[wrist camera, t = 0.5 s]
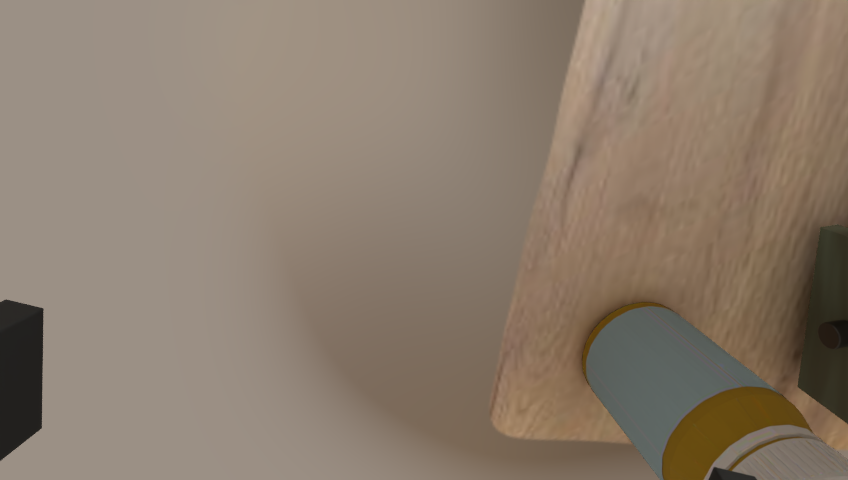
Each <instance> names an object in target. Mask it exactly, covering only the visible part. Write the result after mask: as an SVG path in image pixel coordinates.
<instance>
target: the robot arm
mask: <svg viewBox="0 0 848 480" xmlns="http://www.w3.org/2000/svg"><path fill="white" fill-rule="evenodd" d="M42 361H43V308H39V307H35V306H31V305H27V304H22V303H18V302H14V301H10V300H4V301H2V302H0V460H2V459H3V458H4V457H6V456H7V455H8V454H9V453H11V452H12V451H13V450H15V449H16V448H17V447H18V446H20V445H21V444H22V443H23V442H25V441H26V440H27V439H28V438H30V437H31V436H32V435H34V434H35V433H36V432H37V431H39V430H40V429H41V428H42V364H43V362H42ZM708 480H757V479H756V477H755V476H751V475H746V474H742V473H738V472H734V471H730V470H725V469H721V468H717V467H713V470H712V472H711V475H710V477H709V479H708Z"/></svg>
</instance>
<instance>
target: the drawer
mask: <svg viewBox="0 0 848 480" xmlns="http://www.w3.org/2000/svg"><path fill="white" fill-rule="evenodd" d="M798 388H800V389H801V390H802V391H804V392H805V393H807V394H808V395H809V396H811V397H812V398H813V399H815V400H816V401H817V402H819V403H820V404H822V405H823V406H824V407H826V408H827V409H828V410H830V411H831V412H832V413H834V414H835V415H837V416H838V417H839V418H841V419H842V420H843V421H845V422H846V423H847V424H848V228H846V227H844V226H841V225H831V226H825V227H821V228H820V234H819V241H818V248H817V255H816V262H815V269H814V276H813V283H812V290H811V297H810V304H809V311H808V318H807V325H806V332H805V339H804V346H803V352H802V359H801V366H800V373H799V380H798Z"/></svg>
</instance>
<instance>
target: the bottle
mask: <svg viewBox="0 0 848 480" xmlns="http://www.w3.org/2000/svg"><path fill="white" fill-rule="evenodd" d="M582 365H583V373H584V375H585V378H586V380H587V382H588V384H589V385H590V387H591V389H592V390H593V392H594V393H595V394H596V396H597V397H598V398H599V399H600V401H601V402H602V403H603V405H604V406H605V407H606V409H607V410H608V411H609V413H610V414H611V415H612V417H613V418H614V419H615V421H616V422H617V423H618V425H619V426H620V427H621V429H622V430H623V431H624V433H625V434H626V435H627V436H628V438H629V439H630V440H631V442H632V443H633V444H634V446H635V447H636V448H637V449H638V451H639V452H640V454H641V455H642V456H643V458H644V459H645V460H646V461H647V463H648V464H649V465H650V467H651V468H652V469H653V471H654V472H655V473H656V475H657V476H658V477H659V478H660V480H708V479H709V477H710V475H711V472H712V470H713V467H717V468H721V469H725V470H730V471H734V472H738V473H742V474H746V475H751V476H755V477H756V479H757V480H848V460H847V459H846V458H845V457H844V456H842V455H841V454H840V453H839V452H837V451H836V450H835V449H834V448H832V447H830V446H829V445H827V444H826V443H825V442H823V441H822V440H821V439H820V438H818V437H817V436H816V435H814V434H813V432H812V430H811V429H810V427H809V425H808V424H807V422H806V420H805V419H804V417H803V415H802V414H801V413H800V412H799V410H798V409H797V408H796V407H795V406H794V405H793V404H792V403H791V402H789V401H788V400H787V399H786V398H785V397H784V396H783V395H781V394H780V393H779V392H777V391H776V390H775V389H774V388H772V387H771V386H770V385H768V384H767V383H766V382H765V381H763V380H762V379H761V378H759V377H758V376H757V375H756V374H754V373H753V372H752V371H750V370H749V369H748V368H747V367H745V366H744V365H743V364H741V363H740V362H739V361H738V360H736V359H735V358H734V357H732V356H731V355H730V354H729V353H727V352H726V351H725V350H723V349H722V348H721V347H720V346H718V345H717V344H716V343H714V342H713V341H712V340H711V339H709V338H708V337H707V336H705V335H704V334H703V333H702V332H700V331H699V330H698V329H696V328H695V327H694V326H693V325H691V324H690V323H689V322H687V321H686V320H685V319H684V318H682V317H681V316H680V315H678V314H677V313H675V312H674V311H672V310H671V309H669V308H667V307H665V306H663V305H661V304H657V303H648V302H641V303H636V304H630V305H627V306H624V307H622V308H620V309H618V310H616V311H614V312H612V313H611V314H609V315H608V316H607V317H606V318H605V319H603V320H602V321H601V322H600V323H599V324H598V325H597V326H596V327H595V329H594V330H593V332H592V333H591V335H590V336H589V338H588V340H587V342H586V345H585V348H584V352H583V356H582Z"/></svg>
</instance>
